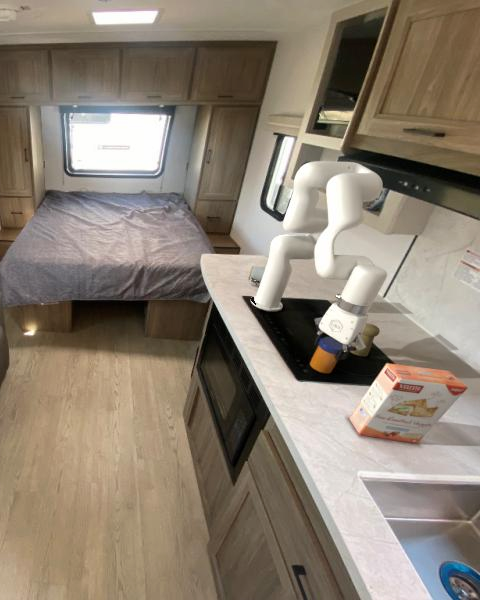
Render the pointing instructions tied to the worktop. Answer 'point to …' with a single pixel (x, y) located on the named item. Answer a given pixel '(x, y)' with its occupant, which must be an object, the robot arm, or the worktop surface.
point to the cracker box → (406, 402)
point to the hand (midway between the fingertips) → (328, 351)
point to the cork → (367, 339)
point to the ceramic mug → (256, 274)
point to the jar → (323, 361)
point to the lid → (330, 345)
